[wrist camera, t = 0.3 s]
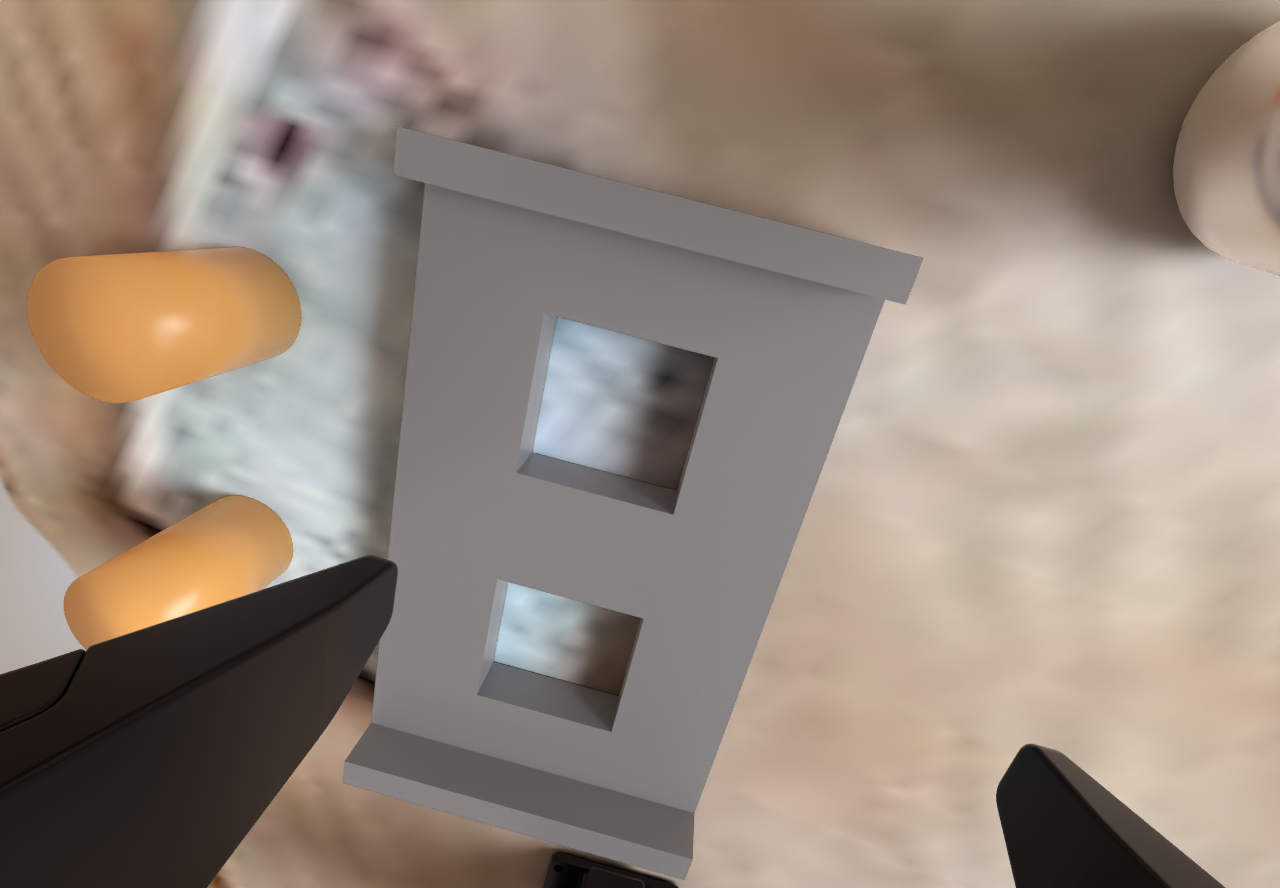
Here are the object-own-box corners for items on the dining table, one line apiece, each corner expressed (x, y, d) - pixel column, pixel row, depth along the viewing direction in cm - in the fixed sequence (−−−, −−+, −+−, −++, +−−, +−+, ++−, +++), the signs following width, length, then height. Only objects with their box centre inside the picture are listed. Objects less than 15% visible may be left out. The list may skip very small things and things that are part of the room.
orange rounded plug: (299, 370, 23) (167, 418, 18) (198, 343, 24) (36, 383, 18) (303, 262, 22) (161, 277, 16) (195, 234, 22) (18, 240, 16)
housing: (689, 792, 28) (684, 879, 24) (392, 709, 29) (342, 783, 25) (884, 250, 20) (923, 258, 16) (456, 143, 20) (396, 126, 16)
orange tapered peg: (291, 590, 27) (179, 687, 21) (204, 566, 27) (69, 657, 21) (294, 509, 26) (175, 591, 20) (201, 484, 26) (57, 559, 20)
